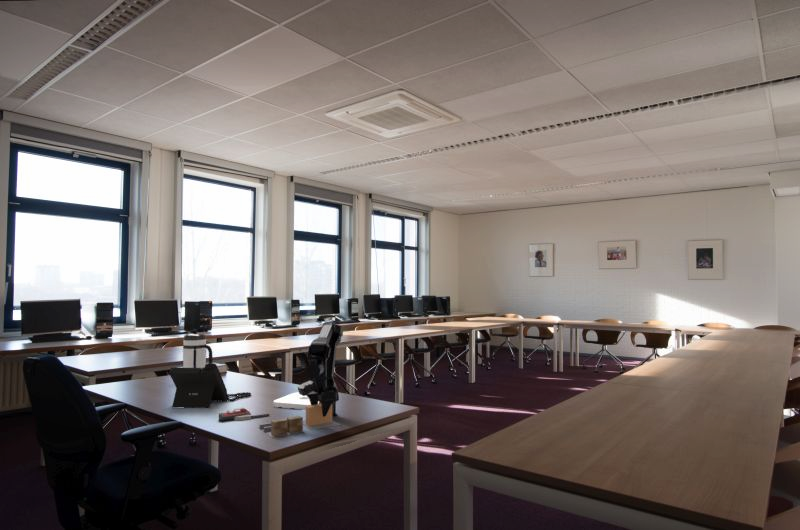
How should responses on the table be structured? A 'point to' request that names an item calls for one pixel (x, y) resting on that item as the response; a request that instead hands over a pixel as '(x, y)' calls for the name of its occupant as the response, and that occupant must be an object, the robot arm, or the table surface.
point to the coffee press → (195, 350)
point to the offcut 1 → (278, 427)
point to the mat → (321, 425)
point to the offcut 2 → (294, 424)
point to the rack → (267, 429)
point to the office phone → (200, 387)
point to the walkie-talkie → (237, 415)
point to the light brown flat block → (317, 415)
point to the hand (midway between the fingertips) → (319, 414)
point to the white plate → (293, 401)
